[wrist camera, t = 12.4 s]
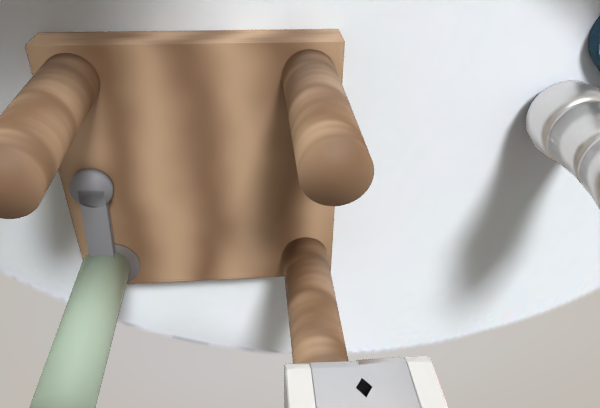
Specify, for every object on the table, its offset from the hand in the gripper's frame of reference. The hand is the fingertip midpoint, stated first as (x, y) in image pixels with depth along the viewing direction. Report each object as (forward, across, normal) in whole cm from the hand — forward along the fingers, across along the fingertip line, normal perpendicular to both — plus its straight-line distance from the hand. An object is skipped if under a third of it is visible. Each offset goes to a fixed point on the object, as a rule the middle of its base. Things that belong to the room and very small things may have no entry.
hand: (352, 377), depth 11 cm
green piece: (+31, +15, +19) cm, 39 cm away
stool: (+34, +6, +14) cm, 37 cm away
